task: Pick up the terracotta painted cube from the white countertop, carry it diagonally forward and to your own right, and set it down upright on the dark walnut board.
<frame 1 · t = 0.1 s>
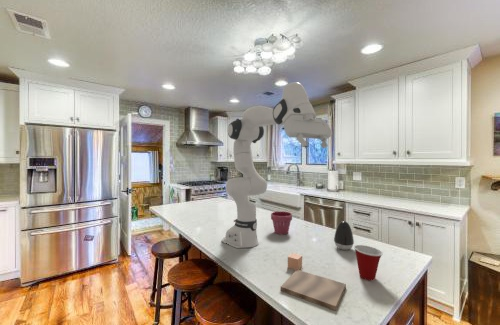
hand: (315, 146, 82), 54 cm above the countertop, tool tilted 30°, fingers open, 8 cm apart
black glossy tall piece: (343, 248, 126), on the countertop
cube: (294, 266, 104), on the countertop
walnut board: (313, 289, 86), on the countertop
plant pot: (281, 232, 153), on the countertop
plastic cup: (367, 277, 95), on the countertop
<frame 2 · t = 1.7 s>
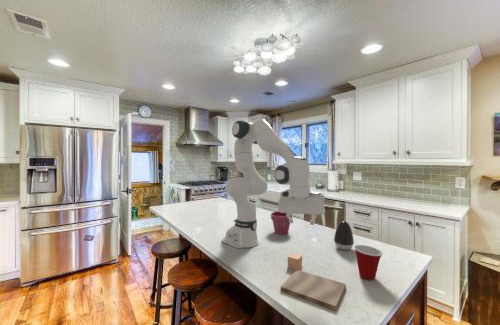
hand: (301, 223, 100), 21 cm above the countertop, tool pointing down, fingers open, 8 cm apart
nothing on the countertop moved.
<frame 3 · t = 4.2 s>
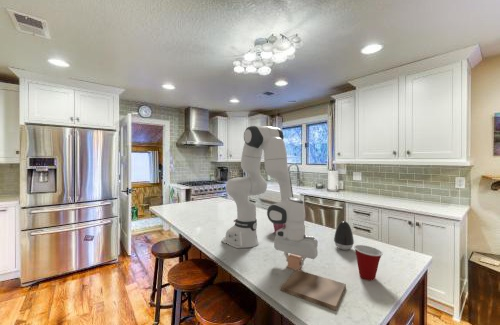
hand: (294, 263, 104), 2 cm above the countertop, tool pointing down, fingers closed on cube, 5 cm apart
cube: (294, 266, 104), on the countertop, touching gripper
everything else where it was.
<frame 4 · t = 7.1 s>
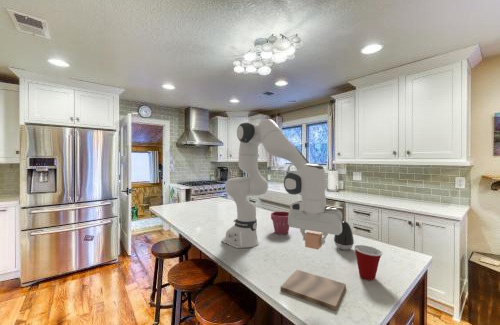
hand: (313, 242, 86), 18 cm above the countertop, tool pointing down, fingers closed on cube, 5 cm apart
cube: (313, 246, 86), point 16 cm above the countertop, touching gripper
everything else where it was.
when the fingers open (5 cm above the countertop, at t = 10.1 s): cube drops 1 cm, resting on walnut board.
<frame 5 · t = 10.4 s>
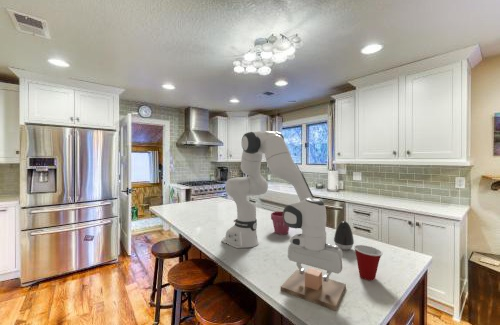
hand: (313, 277, 86), 5 cm above the countertop, tool pointing down, fingers open, 8 cm apart
cube: (313, 285, 86), point 1 cm above the countertop, touching walnut board
everything else where it was.
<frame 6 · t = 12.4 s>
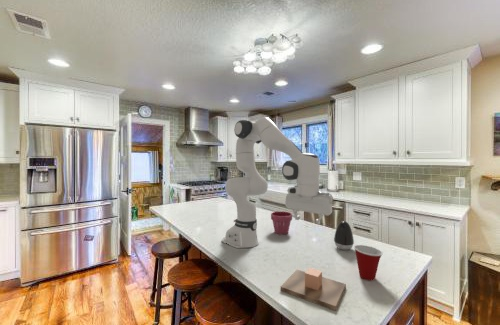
hand: (307, 221, 99), 22 cm above the countertop, tool pointing down, fingers open, 8 cm apart
nothing on the countertop moved.
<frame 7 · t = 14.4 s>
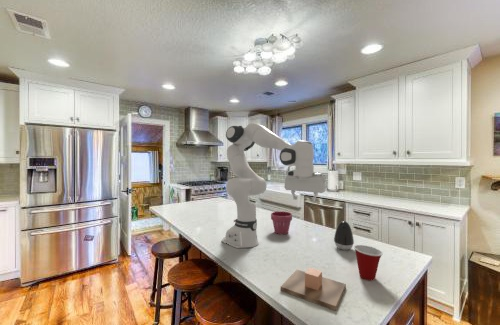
hand: (304, 200, 113), 29 cm above the countertop, tool pointing down, fingers open, 8 cm apart
nothing on the countertop moved.
at the end: cube inside the target area on the walnut board (0.1 cm from its centre), point 1.5 cm above the walnut board's base; cube tilted 0°; the gripper is holding nothing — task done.
